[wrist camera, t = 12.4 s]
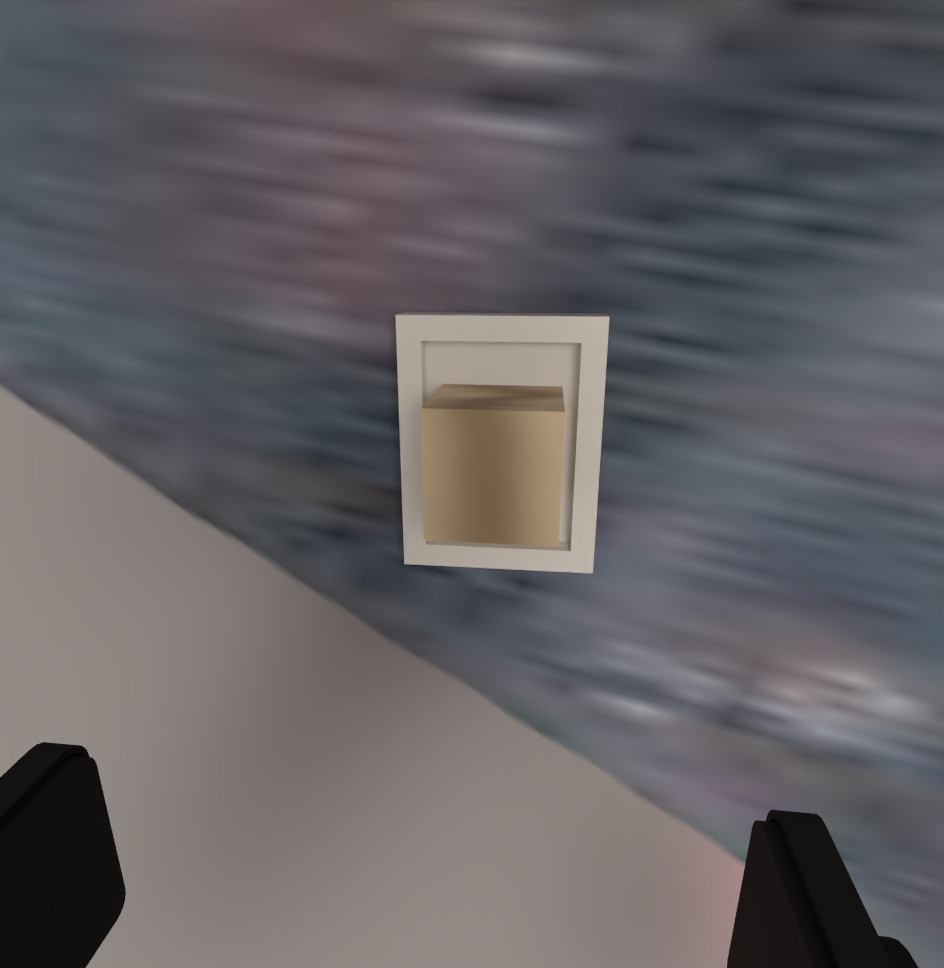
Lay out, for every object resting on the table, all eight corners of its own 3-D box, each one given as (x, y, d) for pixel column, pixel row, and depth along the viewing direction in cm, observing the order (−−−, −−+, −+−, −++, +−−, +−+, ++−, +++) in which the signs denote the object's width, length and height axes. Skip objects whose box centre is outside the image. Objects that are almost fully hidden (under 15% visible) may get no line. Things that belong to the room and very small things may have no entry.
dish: (606, 313, 32) (609, 316, 30) (590, 557, 36) (592, 573, 34) (404, 312, 33) (395, 314, 31) (411, 548, 37) (404, 563, 35)
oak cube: (562, 386, 32) (565, 411, 27) (557, 500, 34) (558, 546, 29) (442, 383, 33) (420, 408, 27) (443, 495, 35) (423, 540, 29)
